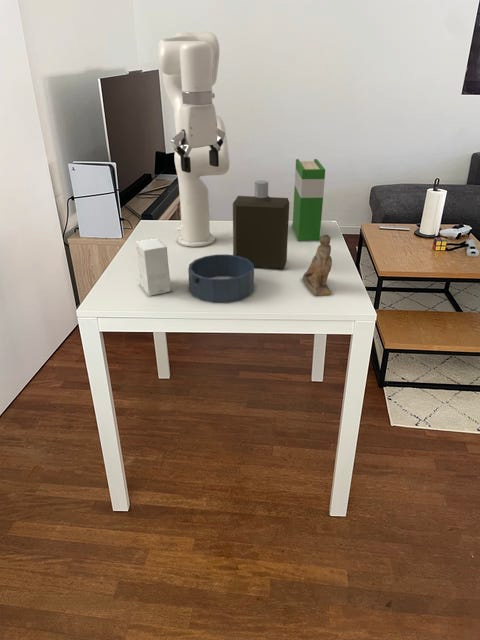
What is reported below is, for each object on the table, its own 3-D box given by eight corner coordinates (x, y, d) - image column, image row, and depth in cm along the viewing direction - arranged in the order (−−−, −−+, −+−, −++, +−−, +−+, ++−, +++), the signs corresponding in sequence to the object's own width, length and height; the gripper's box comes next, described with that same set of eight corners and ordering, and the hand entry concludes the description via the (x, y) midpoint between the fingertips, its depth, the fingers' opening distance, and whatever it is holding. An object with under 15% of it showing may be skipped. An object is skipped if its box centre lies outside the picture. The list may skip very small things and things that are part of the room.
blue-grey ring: (174, 289, 131) (172, 267, 128) (225, 269, 143) (225, 248, 140) (217, 310, 120) (216, 287, 117) (269, 286, 132) (269, 265, 129)
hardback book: (292, 224, 180) (295, 159, 168) (312, 224, 180) (316, 159, 168) (298, 241, 164) (302, 169, 152) (319, 240, 164) (325, 169, 152)
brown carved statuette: (329, 302, 129) (341, 246, 117) (309, 303, 129) (319, 246, 117) (319, 276, 138) (329, 221, 126) (301, 277, 137) (309, 222, 125)
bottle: (284, 270, 142) (288, 186, 130) (232, 267, 144) (231, 184, 132) (287, 260, 149) (291, 179, 136) (236, 257, 151) (236, 177, 139)
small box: (171, 291, 130) (167, 246, 123) (148, 296, 127) (143, 250, 121) (162, 280, 136) (158, 237, 130) (140, 285, 134) (135, 241, 127)
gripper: (213, 95, 127) (215, 161, 135) (160, 100, 116) (166, 171, 125) (232, 97, 122) (233, 166, 131) (179, 103, 112) (183, 176, 120)
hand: (200, 168), depth 128 cm, fingers open, 9 cm apart
